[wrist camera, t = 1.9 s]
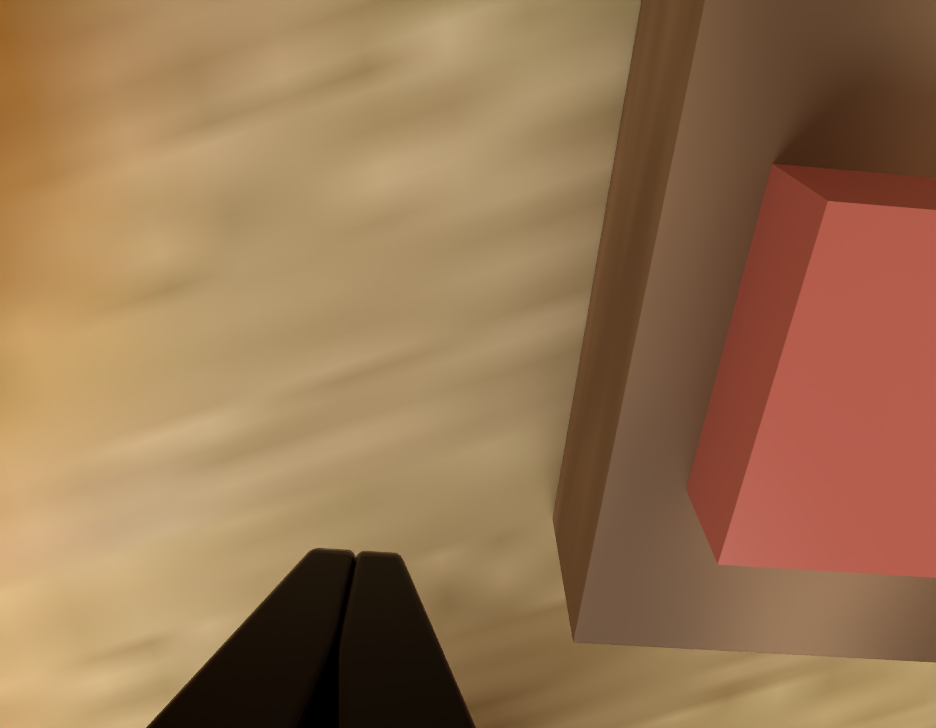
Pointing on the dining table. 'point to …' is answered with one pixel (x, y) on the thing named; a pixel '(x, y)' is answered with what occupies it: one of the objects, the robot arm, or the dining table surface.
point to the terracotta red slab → (828, 382)
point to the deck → (723, 314)
